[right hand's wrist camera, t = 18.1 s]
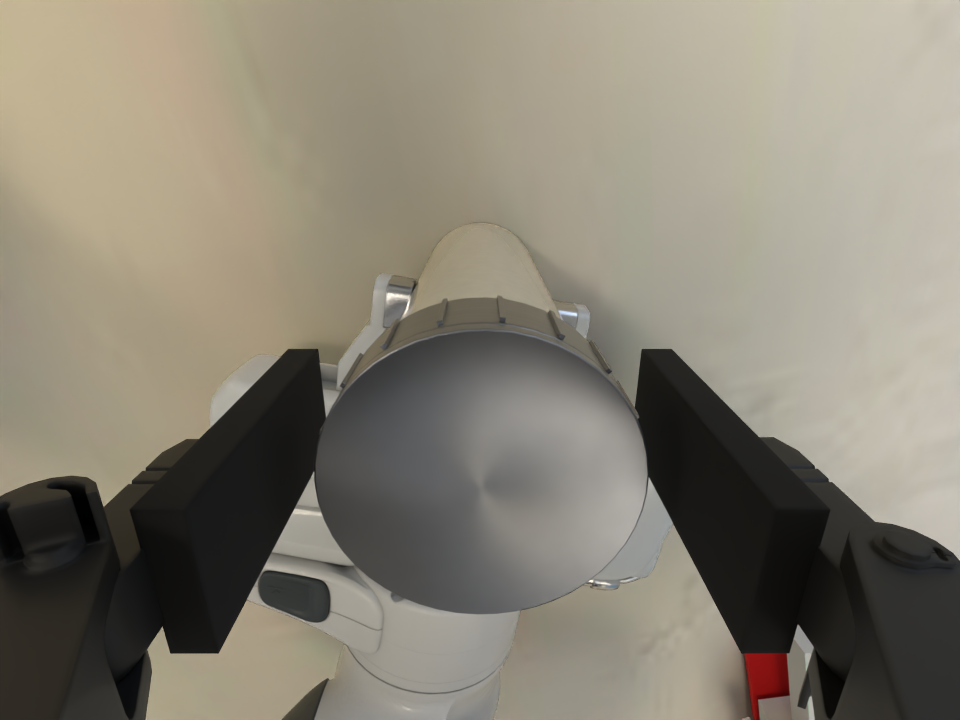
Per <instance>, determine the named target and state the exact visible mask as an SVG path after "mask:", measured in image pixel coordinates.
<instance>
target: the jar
mask: <svg viewBox="0 0 960 720" xmlns="http://www.w3.org/2000/svg"><path fill="white" fill-rule="evenodd" d="M497 295H502V297H503V299H507V300H512V301H516V302H521V303H525V304H528V305H531V306H534V307H536V308H539V309H542V310H544V311H546V312H549V310H552V311H554V313H555V315H556V317H558V318H560V319H561V320H563V319H562V317H561V315H560V313H559V311H558V309H557V307H556V305H555V303H554V301H553V299H552V297H551V295H550V293H549V291H548V289H547V287H546V285H545V283H544V281H543V279H542V277H541V275H540V274H539V272H538V270H537V268H536V266H535V264H534V262H533V260H532V258H531V256H530V254H529V252H528V250H527V248H526V247H525V245H524V244H523V243H522V242H521V240H520V239H519V238H518V237H516V236H515V235H514V234H513V233H511V232H510V231H509V230H507V229H505V228H503V227H500V226H497V225H494V224H489V223H472V224H467V225H464V226H461V227H458V228H456V229H454V230H453V231H451V232H450V233H448V234H447V235H446V236H445V237H443V238H442V239H441V240H440V242H439V243H438V244H437V245H436V247H435V248H434V250H433V252H432V254H431V256H430V258H429V260H428V262H427V264H426V266H425V268H424V270H423V272H422V274H421V276H420V278H419V280H418V282H417V284H416V286H415V288H414V290H413V292H412V294H411V296H410V298H409V300H408V302H407V304H406V306H405V308H404V310H403V313H402V315H401V317H400V319H399V321H400V320H402V319H404V318H405V317H407V316H408V315H410V314H412V313H415V312H417V311H419V310H421V309H424V308H426V307H429V306H432V305H435V304H439V303H441V302H442V299H445V298H447V299H448V301H451V300H457V299H463V298H480V297H488V298H497Z"/></svg>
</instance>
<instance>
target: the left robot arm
mask: <svg viewBox="0 0 960 720" xmlns="http://www.w3.org/2000/svg"><path fill="white" fill-rule="evenodd" d="M416 283H417V279H413V278H408V277H402V276H396V275H392V274H384V273H380V274H379V276H378V277H377V278H376V281H375V285H374V290H373V299H372V310H371V319H370V320H369V321H368V323H367V324H366V325H365V327H364V328H363V329H362V331H361V332H360V333H359V334H358V336H357V337H356V338H355V340H354V341H353V342H352V344H351V345H350V346H349V348H348V349H347V351H346V352H345V354H344V355H343V357H342V358H341V359H340V361H339V362H338V365H334V364H327V363H321V362H320V369H321V378H322V386H323V395H324V404H325V412H326V418H327V416H328V413H329V411H330V409H331V407H332V406H333V404H334V402H335V401H336V399H337V397H338V396H339V394H340V392H341V390H342V389H343V388H341V387H340V384H341V383H342V381H343V379H344V378H345V376H346V374H347V373H348V371H349V369H350V368H351V366H352V365H353V363H354V361H355V360H356V358H357V356H358V355H359V353H362V354H363V355H364V353H365V352H366V350H367V349H368V348H369V347H370V346H371V345H372V344H373V343H374V342H375V340H376V339H377V338H378V337H379V336H380V335H382V334H383V332H384V331H385V330H386V328H390V326H391V325H392V323H393V321H394V320H395V319H397V318H398V320H399V319H400V317H401V315H402V313H403V310H404V308H405V306H406V304H407V302H408V300H409V298H410V296H411V294H412V292H413V290H414V288H415V286H416ZM553 301H554V300H553ZM554 303H555V305H556V307H557V309H558V311H559V313H560V315H561V317H562V319H563V321H564V322H566V323H567V324H568V325H570V326H571V327H573V328H574V329H575V330H577V331H578V332H579V333H580V334H581V335H582V336H583V337H584V338H585V339H586V336H587V332H588V328H589V324H590V312H589V310H588V309H587V307H586V306H585V305H581V304H574V303H568V302H561V301H554ZM279 358H280V356H274V355H267V354H260V355H256V356H254V357H252V358H251V359H250V360H248V361H247V362H246V363H244V364H243V365H242V366H240V367H239V368H238V369H236V370H235V371H234V372H233V373H232V374H230V376H229V377H228V378H227V379H226V380H225V381H224V382H223V383H222V384H221V385H220V386H219V387H218V389H217V390H216V391H215V393H214V395H213V397H212V400H211V404H210V413H209V424H210V428H211V427H212V426H213V425H214V424H215V423H216V422H217V421H218V420H219V419H220V418H221V417H222V416H223V415H224V414H225V413H226V412H227V411H228V410H229V409H230V408H231V407H232V406H233V405H234V404H235V403H236V401H237V400H238V399H239V398H240V397H241V396H242V395H243V394H244V393H245V392H246V391H247V390H248V389H249V388H250V387H251V386H252V385H253V384H254V383H255V382H256V381H257V380H258V379H259V378H260V377H261V376H262V375H263V374H264V373H265V372H266V371H267V370H268V369H269V368H270V367H271V366H272V365H273V364H274V363H275V362H276V361H277V360H278V359H279ZM672 525H673V522H672V520H671V518H670V516H669V515H668V513H667V511H666V509H665V507H664V505H663V503H662V501H661V499H660V497H659V496H658V494H657V492H656V490H655V488H654V486H653V484H652V482H651V480H650V478H649V479H648V490H647V495H646V499H645V503H644V507H643V511H642V513H641V516H640V518H639V520H638V523H637V525H636V528H635V529H634V531H633V533H632V534H631V536H630V538H629V540H628V541H627V543H626V544H625V546H624V547H623V548H622V549H621V551H620V552H619V553H618V555H617V556H616V557H615V558H614V559H613V560H612V561H611V562H610V563H609V564H608V565H607V566H606V567H605V568H604V569H603V570H602V571H601V572H600V573H599V574H597V575H596V576H595V577H593V578H592V579H591V580H590V581H588V582H587V583H585V584H584V585H583V586H590V588H593V589H598V590H616V589H618V587H619V585H620V584H622V583H629V582H633V581H635V580H638V579H640V578H645V577H647V576H648V575H649V574H650V573H651V572H652V570H653V569H654V567H655V564H656V561H657V559H658V556H659V553H660V550H661V547H662V543H663V541H664V539H665V538H666V536H667V534H668V532H669V531H670V529H671V527H672ZM247 600H248V601H250V602H253V603H255V604H258V605H261V606H263V607H266V608H269V609H271V610H274V611H277V612H279V613H282V614H285V615H287V616H290V617H292V618H294V619H297V620H299V621H302V622H304V623H306V624H308V625H310V626H313V627H315V628H317V629H319V630H321V631H323V632H325V633H326V634H328V635H330V636H332V637H334V638H335V639H337V640H339V641H340V642H342V643H344V647H343V649H342V652H341V654H340V657H339V661H338V665H337V668H336V673H335V678H334V679H332V680H329V679H328V678H327V679H326V680H324V681H322V682H321V683H320V684H318V685H317V686H316V687H314V688H313V689H312V690H311V691H310V692H309V693H308V694H307V695H305V696H304V697H303V699H302V700H301V701H300V702H299V703H298V704H297V705H296V706H294V708H293V709H292V710H291V711H290V712H289V713H288V714H287V715H286V716H285V717H284V718H283V719H282V720H494V716H495V713H496V709H497V705H498V700H499V693H500V669H501V668H502V667H503V665H504V663H505V661H506V659H507V657H508V655H509V653H510V650H511V647H512V644H513V640H514V636H515V632H516V628H517V624H518V620H519V616H520V612H521V610H520V611H515V612H508V613H500V614H464V613H454V612H449V611H443V610H438V609H434V608H430V607H427V606H423V605H420V604H417V603H415V602H412V601H410V600H407V599H405V598H402V597H400V596H398V595H396V594H394V593H393V592H391V591H389V590H387V589H385V588H384V587H382V586H381V585H379V584H378V583H376V582H375V581H373V580H372V579H370V578H369V577H368V576H367V575H365V574H364V573H363V572H362V571H361V570H360V569H359V568H357V567H356V566H355V565H354V564H353V563H352V561H351V560H350V559H349V558H348V557H347V556H346V555H345V554H344V553H343V551H342V550H341V549H340V547H339V546H338V544H337V543H336V541H335V540H334V538H333V537H332V535H331V533H330V531H329V529H328V527H327V525H326V523H325V521H324V519H323V516H322V513H321V510H320V507H319V504H318V500H317V494H316V489H315V482H314V473H313V475H312V476H311V478H310V480H309V482H308V484H307V486H306V488H305V490H304V492H303V494H302V495H301V497H300V499H299V501H298V503H297V505H296V507H295V509H294V511H293V513H292V515H291V516H290V518H289V520H288V522H287V524H286V526H285V528H284V530H283V532H282V534H281V535H280V537H279V539H278V541H277V543H276V545H275V547H274V549H273V551H272V553H271V554H270V556H269V558H268V560H267V562H266V564H265V566H264V568H263V570H262V572H261V573H260V575H259V577H258V579H257V581H256V583H255V585H254V587H253V589H252V591H251V593H250V594H249V596H248V598H247Z"/></svg>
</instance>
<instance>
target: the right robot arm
mask: <svg viewBox="0 0 960 720" xmlns="http://www.w3.org/2000/svg"><path fill="white" fill-rule="evenodd" d="M635 409H636V411H637V413H638V415H639V418H638V422H639V424H640V427H641V429H642V432H643V434H644V438H645V443H646V447H647V452H648V463H649V478H650V480H651V482H652V484H653V486H654V488H655V490H656V492H657V494H658V496H659V497H660V499H661V501H662V503H663V505H664V507H665V509H666V511H667V513H668V515H669V516H670V518H671V520H672V522H673V524H674V526H675V528H676V530H677V532H678V534H679V535H680V537H681V539H682V541H683V543H684V545H685V547H686V549H687V551H688V553H689V555H690V556H691V558H692V560H693V562H694V564H695V566H696V568H697V570H698V572H699V574H700V575H701V577H702V579H703V581H704V583H705V585H706V587H707V589H708V591H709V593H710V594H711V596H712V598H713V600H714V602H715V604H716V606H717V608H718V610H719V612H720V613H721V615H722V617H723V619H724V621H725V623H726V625H727V627H728V629H729V631H730V633H731V634H732V636H733V638H734V640H735V642H736V644H737V646H738V648H739V650H740V652H741V653H790V650H791V646H792V643H793V639H794V636H795V632H796V629H797V625H799V626H800V628H801V629H802V631H803V632H804V634H805V635H806V636H807V638H808V639H809V641H810V642H811V644H812V645H813V647H814V648H813V651H812V654H811V658H810V661H809V664H808V667H807V671H806V674H805V677H804V681H803V684H802V687H801V690H800V694H799V699H798V705H797V707H800V708H803V709H806V706H807V703H808V700H809V697H810V696H812V702H813V709H814V717H815V720H960V561H959V560H958V558H957V557H956V556H955V555H954V554H953V553H952V552H951V551H949V550H948V549H946V548H945V547H943V546H942V545H941V544H939V543H938V542H936V541H935V540H933V539H931V538H928V537H926V536H924V535H922V534H920V533H918V532H916V531H913V530H910V529H907V528H904V527H900V526H897V525H894V524H887V523H879V522H875V521H873V520H872V519H871V518H870V517H869V516H868V515H867V514H866V513H865V512H864V511H863V510H862V509H861V508H859V507H858V506H857V505H856V504H855V503H854V502H853V501H852V500H851V499H850V498H849V497H848V496H847V495H845V494H844V493H843V492H842V491H841V490H840V489H839V488H838V487H837V486H836V485H835V484H834V483H832V482H829V479H828V478H827V477H826V476H825V475H824V474H823V473H822V472H821V471H820V470H818V469H815V466H814V465H813V464H812V463H811V462H810V461H809V460H808V459H807V458H806V457H804V456H803V455H802V454H801V453H800V452H799V451H798V450H796V449H794V448H792V447H790V446H789V445H787V444H785V443H783V442H781V441H779V440H778V439H776V438H774V437H758V436H757V435H756V434H755V433H754V432H753V431H752V430H751V429H750V428H749V427H748V426H747V425H746V424H745V423H744V422H743V421H742V420H741V419H740V418H739V417H738V416H737V415H736V414H735V413H734V412H733V411H732V410H731V409H730V408H729V407H728V406H727V405H726V404H725V403H724V402H723V401H722V399H721V398H720V397H719V396H718V395H717V394H716V393H715V392H714V391H713V390H712V389H711V388H710V387H709V386H708V385H707V384H706V383H705V382H704V381H703V380H702V379H701V378H700V377H699V376H698V375H697V374H696V373H695V372H694V371H693V370H692V369H691V368H690V367H689V366H688V365H687V364H686V363H685V362H684V361H683V360H682V359H681V358H680V357H679V356H678V355H677V354H676V353H675V352H674V351H673V350H672V349H642V352H641V361H640V369H639V378H638V386H637V395H636V403H635ZM325 420H326V412H325V404H324V395H323V386H322V378H321V369H320V361H319V352H318V349H288V350H287V351H286V352H285V353H284V354H283V355H282V356H281V357H280V358H279V359H278V360H277V361H276V362H275V363H274V364H273V365H272V366H271V367H270V368H269V369H268V370H267V371H266V372H265V373H264V374H263V375H262V376H261V377H260V378H259V379H258V380H257V381H256V382H255V383H254V384H253V385H252V386H251V387H250V388H249V389H248V390H247V391H246V392H245V393H244V394H243V395H242V396H241V397H240V398H239V399H238V400H237V401H236V403H235V404H234V405H233V406H232V407H231V408H230V409H229V410H228V411H227V412H226V413H225V414H224V415H223V416H222V417H221V418H220V419H219V420H218V421H217V422H216V423H215V424H214V425H213V426H212V427H211V428H210V429H209V430H208V431H207V432H206V433H205V434H204V435H203V436H202V437H201V438H200V439H186V440H184V441H182V442H181V443H179V444H177V445H175V446H173V447H171V448H170V449H168V450H166V451H164V452H162V453H161V454H160V455H159V456H158V457H157V458H156V459H155V460H154V461H153V462H152V463H151V464H149V465H148V466H147V467H146V471H142V472H141V473H140V474H139V475H138V476H137V477H136V478H134V479H133V480H132V484H128V485H127V486H126V487H125V488H124V489H123V490H122V491H121V492H119V493H118V494H117V495H116V496H115V497H114V498H113V499H112V500H111V501H110V502H109V503H108V504H107V505H106V506H105V507H103V504H102V501H101V498H100V494H99V491H98V488H97V485H96V483H95V482H94V481H92V480H91V479H89V478H87V477H79V476H65V477H56V478H50V479H46V480H42V481H38V482H34V483H31V484H28V485H25V486H23V487H20V488H18V489H15V490H13V491H10V492H8V493H6V494H4V495H2V496H1V497H0V720H145V718H146V711H147V704H148V697H149V689H150V682H151V675H152V668H151V662H150V658H149V654H148V651H147V648H148V647H149V645H150V644H151V642H152V641H153V639H154V638H155V636H156V635H157V633H158V632H159V631H160V629H161V628H162V626H163V629H164V633H165V636H166V640H167V643H168V647H169V650H170V653H219V652H220V650H221V648H222V646H223V644H224V642H225V640H226V638H227V636H228V634H229V632H230V631H231V629H232V627H233V625H234V623H235V621H236V619H237V617H238V615H239V613H240V612H241V610H242V608H243V606H244V604H245V602H246V600H247V598H248V596H249V594H250V593H251V591H252V589H253V587H254V585H255V583H256V581H257V579H258V577H259V575H260V573H261V572H262V570H263V568H264V566H265V564H266V562H267V560H268V558H269V556H270V554H271V553H272V551H273V549H274V547H275V545H276V543H277V541H278V539H279V537H280V535H281V534H282V532H283V530H284V528H285V526H286V524H287V522H288V520H289V518H290V516H291V515H292V513H293V511H294V509H295V507H296V505H297V503H298V501H299V499H300V497H301V495H302V494H303V492H304V490H305V488H306V486H307V484H308V482H309V480H310V478H311V476H312V475H313V473H314V462H315V454H316V447H317V443H318V439H319V436H320V435H319V432H320V429H321V427H322V426H323V424H324V422H325Z"/></svg>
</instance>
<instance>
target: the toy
mask: <svg viewBox="0 0 960 720" xmlns="http://www.w3.org/2000/svg"><path fill="white" fill-rule="evenodd" d="M813 648H814V647H813V645H812V644H811V642H810V641H809V639H808V638H807V636H806V635H805V634H804V632H803V631H802V629H801V628H800V626H799V625H797V629H796V632H795V636H794V639H793V643H792V646H791V650H790V653H744V654H745V661H746V669H747V676H748V684H749V691H750V699H751V706H752V713H753V720H815V717H814V709H813V702H812V696H810V697H809V700H808V703H807V706H806V709H803V708H800V707H797V705H798V699H799V694H800V690H801V687H802V684H803V681H804V677H805V674H806V671H807V667H808V664H809V661H810V658H811V654H812V651H813ZM741 720H751V719H750V717H746V718H742V719H741Z"/></svg>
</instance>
